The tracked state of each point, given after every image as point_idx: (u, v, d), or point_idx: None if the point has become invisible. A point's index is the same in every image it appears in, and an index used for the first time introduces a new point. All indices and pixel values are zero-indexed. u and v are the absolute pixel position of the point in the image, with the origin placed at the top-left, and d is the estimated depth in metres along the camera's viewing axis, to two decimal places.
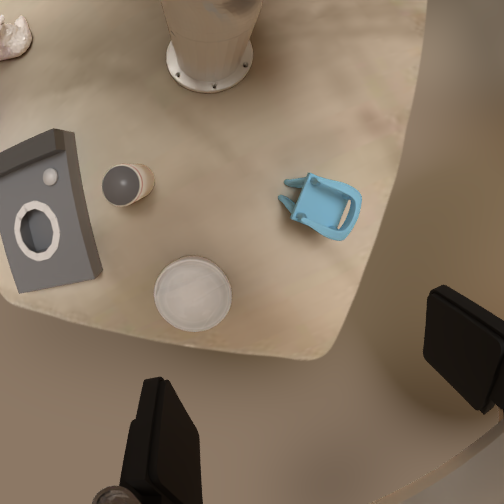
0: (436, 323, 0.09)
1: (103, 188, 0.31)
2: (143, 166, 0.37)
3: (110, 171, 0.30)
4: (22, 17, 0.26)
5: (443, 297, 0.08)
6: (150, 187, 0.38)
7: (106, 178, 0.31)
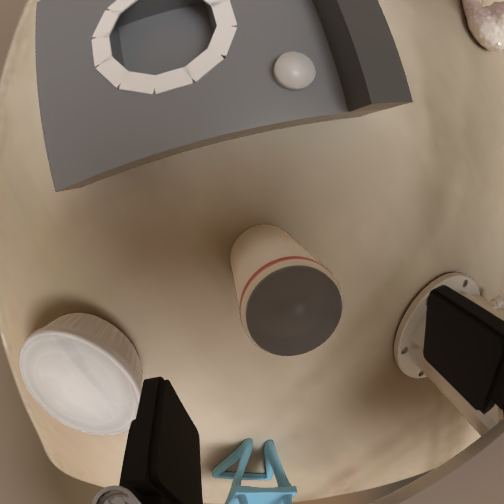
0: (436, 323, 0.09)
1: (291, 272, 0.13)
2: None
3: (331, 287, 0.13)
4: None
5: (443, 297, 0.08)
6: None
7: (316, 278, 0.13)
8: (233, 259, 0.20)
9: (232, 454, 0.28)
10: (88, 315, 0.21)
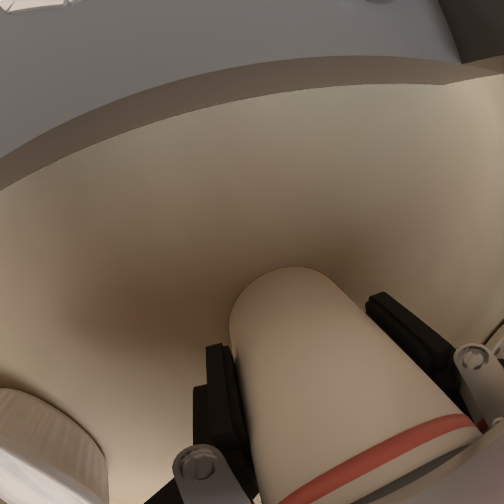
0: None
1: None
2: None
3: None
4: None
5: (380, 304, 0.09)
6: None
7: None
8: (237, 347, 0.09)
9: None
10: (19, 397, 0.11)
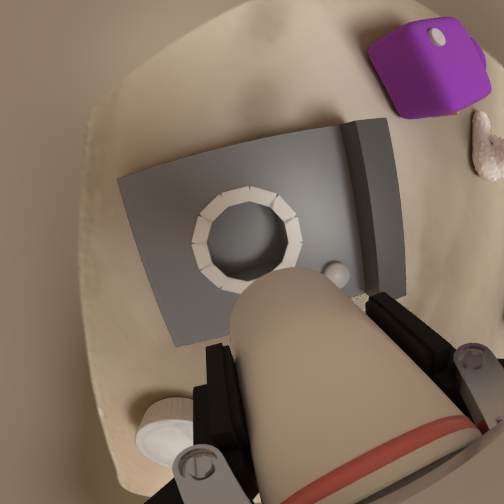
0: None
1: None
2: None
3: None
4: None
5: (380, 304, 0.09)
6: None
7: None
8: (237, 347, 0.09)
9: None
10: (184, 399, 0.32)
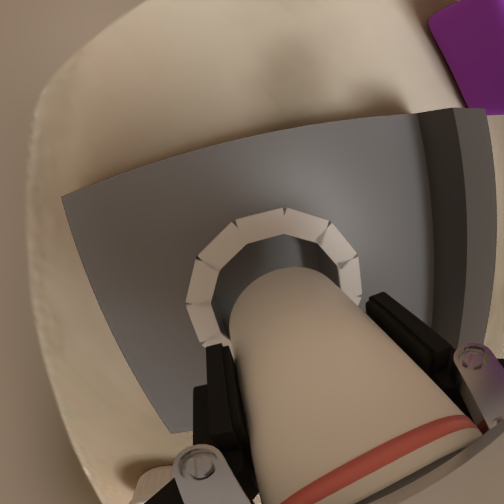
0: None
1: None
2: None
3: None
4: None
5: (380, 304, 0.09)
6: None
7: None
8: (237, 347, 0.09)
9: None
10: None
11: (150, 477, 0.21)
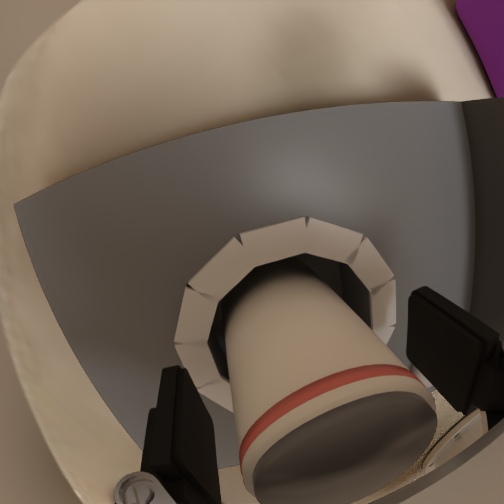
0: (417, 324, 0.09)
1: (363, 418, 0.05)
2: None
3: (428, 419, 0.05)
4: None
5: (424, 298, 0.09)
6: None
7: (407, 415, 0.05)
8: (226, 320, 0.11)
9: None
10: None
11: None
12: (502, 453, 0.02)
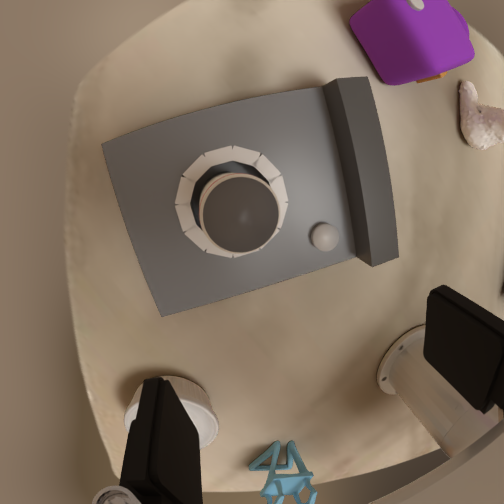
0: (436, 323, 0.09)
1: (236, 180, 0.17)
2: None
3: (268, 194, 0.18)
4: None
5: (443, 297, 0.08)
6: None
7: (255, 186, 0.18)
8: (200, 195, 0.24)
9: (265, 452, 0.40)
10: (174, 377, 0.32)
11: None
12: (502, 453, 0.02)
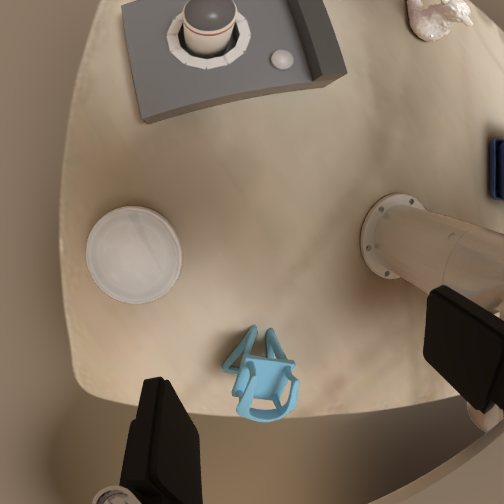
0: (436, 323, 0.09)
1: None
2: (225, 47, 0.27)
3: (229, 0, 0.20)
4: (448, 32, 0.30)
5: (443, 297, 0.08)
6: (198, 54, 0.27)
7: None
8: None
9: (240, 343, 0.41)
10: None
11: None
12: (502, 453, 0.02)
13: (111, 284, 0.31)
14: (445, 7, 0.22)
